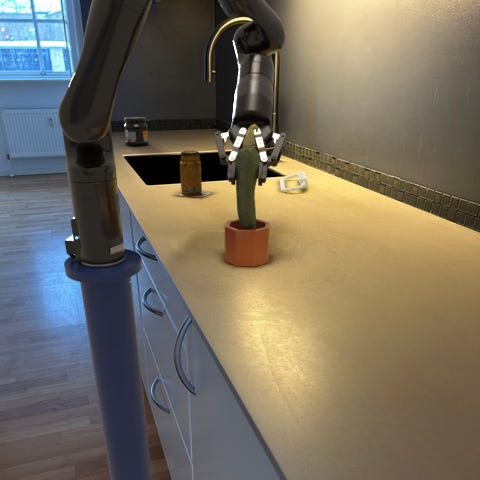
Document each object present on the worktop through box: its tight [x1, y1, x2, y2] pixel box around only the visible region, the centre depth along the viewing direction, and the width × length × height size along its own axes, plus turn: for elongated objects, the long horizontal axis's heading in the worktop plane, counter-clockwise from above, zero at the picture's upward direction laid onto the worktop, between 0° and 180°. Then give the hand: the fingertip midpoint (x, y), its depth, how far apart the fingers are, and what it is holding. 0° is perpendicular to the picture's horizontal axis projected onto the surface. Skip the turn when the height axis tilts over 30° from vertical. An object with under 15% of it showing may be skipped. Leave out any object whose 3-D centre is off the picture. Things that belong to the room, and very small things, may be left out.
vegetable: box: [235, 124, 260, 230], centre depth 95 cm, size 4×4×20 cm
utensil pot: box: [224, 218, 271, 268], centre depth 100 cm, size 8×8×7 cm
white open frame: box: [279, 171, 309, 193], centre depth 159 cm, size 20×8×4 cm, turn 177°
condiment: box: [175, 150, 213, 198], centre depth 148 cm, size 7×8×12 cm
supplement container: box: [123, 116, 150, 148], centre depth 235 cm, size 10×10×12 cm
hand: (246, 182), depth 93 cm, fingers closed on vegetable, 4 cm apart
